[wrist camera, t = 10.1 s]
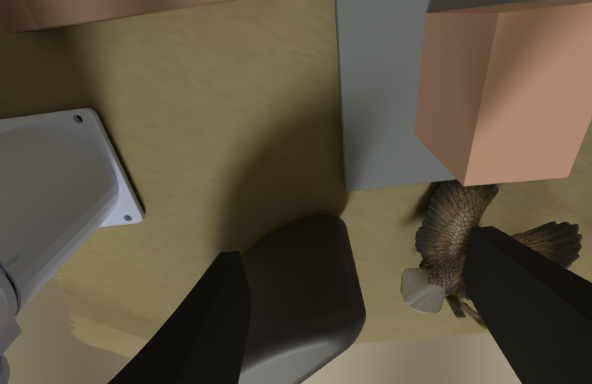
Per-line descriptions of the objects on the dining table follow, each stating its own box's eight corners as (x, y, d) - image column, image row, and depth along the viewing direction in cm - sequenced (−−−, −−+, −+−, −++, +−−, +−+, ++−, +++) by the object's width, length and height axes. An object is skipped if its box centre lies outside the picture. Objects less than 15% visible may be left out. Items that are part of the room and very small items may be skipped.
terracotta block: (413, 134, 17) (463, 186, 12) (425, 13, 14) (499, 13, 9) (485, 127, 17) (567, 177, 12) (513, 2, 14) (640, -4, 9)
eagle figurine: (493, 289, 24) (587, 209, 18) (479, 368, 19) (602, 292, 13) (403, 236, 26) (459, 150, 20) (370, 292, 21) (431, 201, 15)
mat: (344, 183, 20) (346, 191, 19) (332, -42, 14) (334, -45, 13) (533, 162, 19) (544, 169, 18) (607, -86, 13) (629, -93, 12)
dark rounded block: (297, 182, 20) (297, 297, 12) (349, 215, 21) (381, 338, 13) (190, 312, 27) (144, 441, 19) (235, 331, 28) (210, 459, 20)
